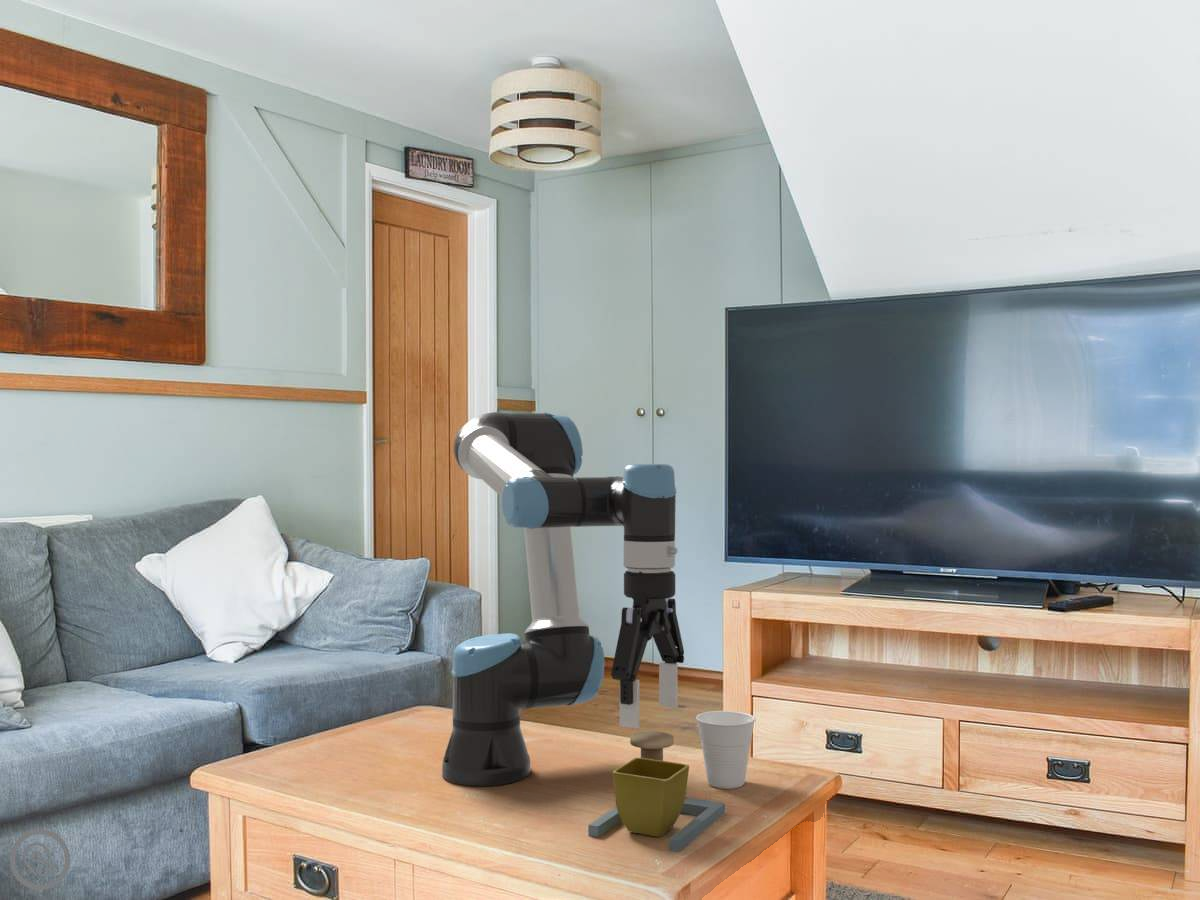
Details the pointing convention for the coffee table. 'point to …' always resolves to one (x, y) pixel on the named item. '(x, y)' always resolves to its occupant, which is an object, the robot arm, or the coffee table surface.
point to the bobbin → (651, 743)
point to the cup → (725, 746)
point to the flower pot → (650, 794)
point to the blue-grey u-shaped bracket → (705, 818)
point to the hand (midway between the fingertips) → (649, 716)
